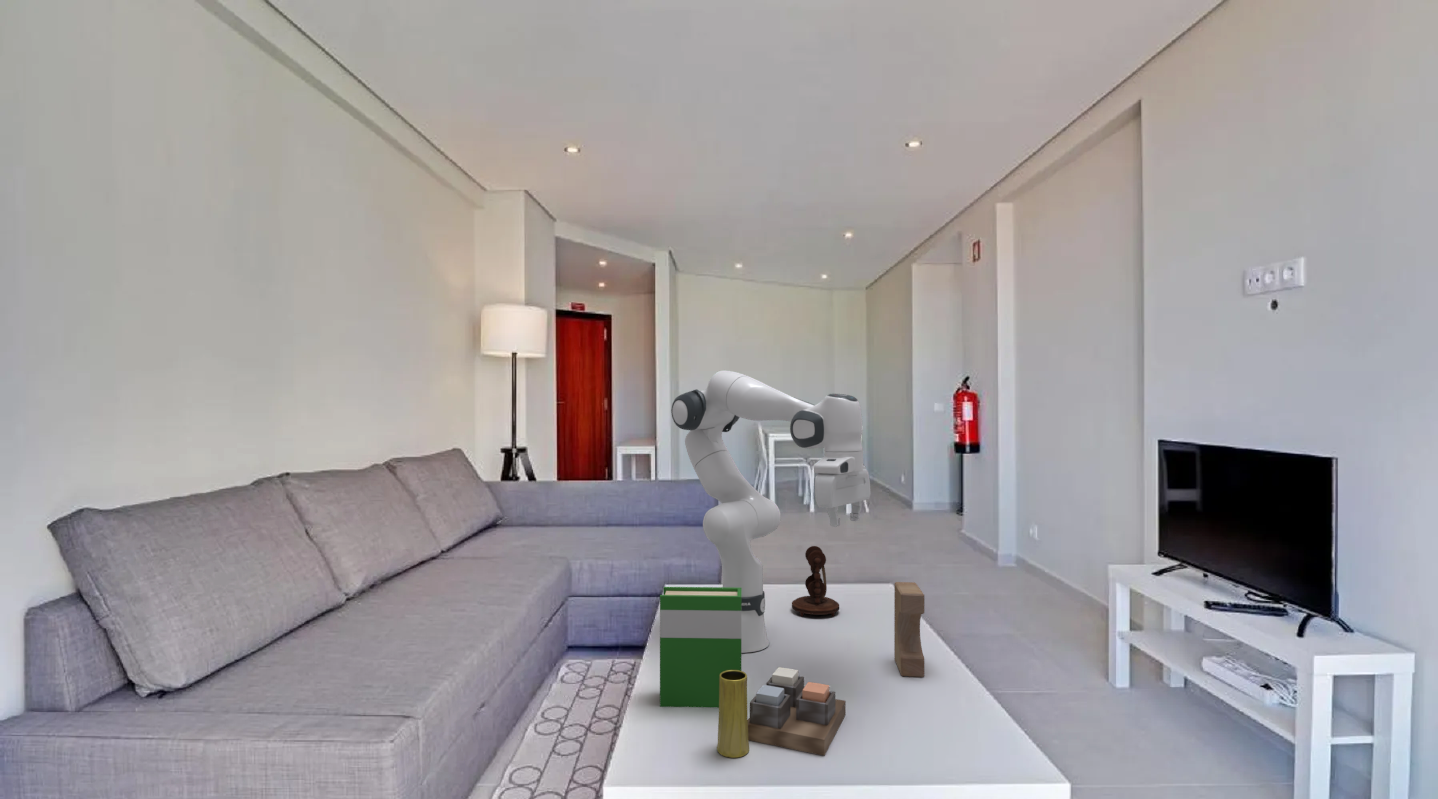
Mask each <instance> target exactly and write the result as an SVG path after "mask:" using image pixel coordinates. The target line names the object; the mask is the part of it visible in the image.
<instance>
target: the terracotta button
mask: <svg viewBox="0 0 1438 799" xmlns="http://www.w3.org/2000/svg"><path fill="white" fill-rule="evenodd" d="M829 691H830V685H829V684H823V683H819V682H810V681H808V682H807V683H806V684H805V685H804V689H803V690H802V699H805V700H811V701H816V702H822V703H826V702H827V700H828V698H829Z"/></svg>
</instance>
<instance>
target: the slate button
mask: <svg viewBox="0 0 1438 799" xmlns="http://www.w3.org/2000/svg"><path fill="white" fill-rule="evenodd" d="M755 696H756V702H757V703H762V704H768V705H773V706H780V704H781V703H782V702H783V700H784V688H779V687H774V686H768V685H766V684H763V685H762V686H761V687H760V688H759V689H758V691H757V692H756V694H755Z"/></svg>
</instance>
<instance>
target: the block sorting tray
mask: <svg viewBox="0 0 1438 799" xmlns="http://www.w3.org/2000/svg"><path fill="white" fill-rule="evenodd" d="M765 685H768V686H774V687H779V688H784V700H783V702H782V703H781V704H780V706H773V705H768V704H762V703H757V702H756V695H754V697H752V699H751V701H749V718H747V720H748V741H749V742H750V741H751V742H756V743H760V744H764V745H771V746H776V747H778V748H779V747H781V748H785V749H790V750H794V751H800V752H804V753H810V754H814V755H819V756H823V757H824V756H825V755H826V754H827V752H828V750H829V748H830V746H831V744H832V742H833V740H834V738H835V736H836V734H837V733H838V730H839V728H840V726H841V724H842V722H843V721H844V718H845V717H846V707H847V706H846V700H845V699H838V698H836V691H833V690H831V691H830V690H829V698H828V700H827V702H826V703H822V702H816V701H811V700H805V699H802V690H803V689H804V687H805V677H804V675H803V676H802V675H798V681H797V683H796V684H795V685H794V687H793V686H787V685H781V684H775V683H772V676H771V677H770V678H769V679H768V681H767V682H766V684H765Z"/></svg>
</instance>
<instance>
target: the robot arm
mask: <svg viewBox="0 0 1438 799" xmlns="http://www.w3.org/2000/svg"><path fill="white" fill-rule="evenodd" d="M670 412H671V418H672V421H673V422H674V424H675V426H677V428H678V429H681V430H685V431H688V432H687V434H686V436H685V438H684V445H685V448H686V452H687V454H688V458H689V460H690V463H691V465H692V467H693V469H694V472H695V473H696V475H697V478H698V480H699V482H700V484H701V485H702V488H703V490H704V491H705V493H706V494H707V495H708V496H709V497H712V498H713V499H716V500H717V501H719V502H720V504H718V505H715V506H713V507H712V508H710V509H708V510H707V511H706V512H705V514H704V516H703V520H702V528H703V529H702V530H703V533H704V535H705V536H706V538H707V540H708V541H709V542H711V543H712V544H713V545H714V546H715V548H716V550H717V551H718V554H719V558H720V562H721V572H722V573H721V575H722V577H721V578H722V587H737V588H742V601H741V654H744V653H752V652H759V651H762V650H764V649H766V648H767V647H769V646H770V641H769V637H768V634H767V629H766V628H767V627H766V621H765V612H766V611H765V610H766V598H765V593H766V592H765V590H764V565H763V562H762V561H761V559H760V558H759V557H758V556H756V555H755V553H754V552H753V549H752V544H751V543H752V542H751V541H752V540H755V539H759V538H764V537H766V536H768V535H770V534H771V533H774V532H775V531H776V530H778V527H779V526H780V523H781V519H782V518H781V517H782V515H781V510H780V508H779V507H778V505H777V504H776V502H775V501H773V500H772V499H769V498H767V497H765V496H764V495H763V494H761V493H760V492H759V491H758V490H757V489H756V488H755V487H753V485H752V484H751V483H750V482H749V481H748V480H747V479H746V478H745V477H744V475H743V474H742V473H741V471H740V469H739V468H738V466H737V464H736V462H735V461H734V459H733V457H732V454H731V453H730V451H729V449H728V448H727V446H726V444H725V442H724V440H723V437H722V435H723V433H728V432H730V431H731V430H732V428H733V425H735V424H736V423H737V422H738V421H739V420H740V418H741V419H745V420H750V421H783V422H784V421H786V422H790V426H789V431H790V436H791V439H792V441H793V442H794V443H795V444H796V445H797V447H799V448H803V449H809V450H811V449H812V450H813V449H824V452H823V453H824V455H823V456H822V457H821V459H820V458H819V460H818V461H817V462H815V463H814V464H813V473H814V474H816V476H815V479H814V490H815V491H814V497H815V503H816V505H817V507H818V508H823V509H826V513H827V515H828V517H829V525H830V527H832V528H833V527H834V528H836V527H840V525H841V518H839V515H838V511H839V507H841V506H846V505H851V507H852V508H851V513H850V512H849V519H850V521H851V522H858V521H860V518H861V517H860V513H861V511H862V507H863V501H868V500H870V498H871V494H872V493H871V480H870V474H869V471H868V469H867V467H866V465H865V464H864V449H863V445H862V435H863V418H862V417H863V416H862V409H861V404H860V402H859V400H858V398H856V397H855V396H854V395H849V394H842V393H841V394H840V393H828V394H826V395H825V396H824V398H823V399H822V400H820V401H819V402H818V403H817V404H813V403H811V402H809V401H806V400H803V399H800V398H797V397H795V396H792V395H789V394H787V393H785V392H783V391H781V390H779V389H777V388H774V387H773V386H771V385H768V384H766V383H764V382H762V381H761V380H758V379H755V378H753V377H751V376H750V375H747V374H745V373H744V374H743V373H741V372H738V371H732V370H725V369H724V370H719V371H717V372H715V373H714V374H713V375H712V376H711V377H710V378H709V381H708V385H707V387H706V388H705V389H703V390H699V389H693V390H691V391H687V392H685V393H682V394H680V395H678V396H677V397H675V399H674V400H673V402H672V405H671V410H670Z"/></svg>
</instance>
